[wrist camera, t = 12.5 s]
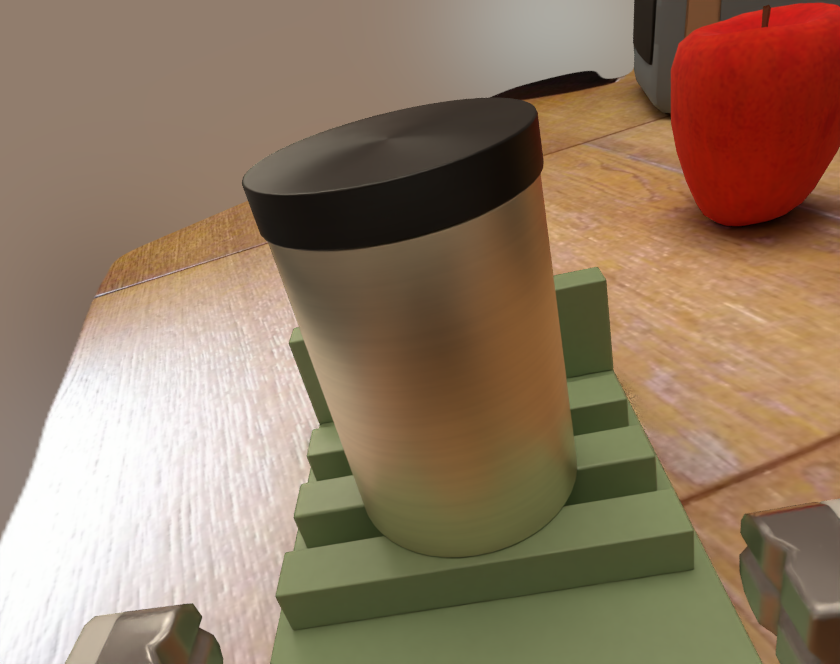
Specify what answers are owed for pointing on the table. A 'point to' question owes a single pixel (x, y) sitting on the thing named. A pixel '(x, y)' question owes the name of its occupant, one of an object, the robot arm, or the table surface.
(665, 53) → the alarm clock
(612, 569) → the drying rack
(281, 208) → the travel mug
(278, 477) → the table surface
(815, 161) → the apple
